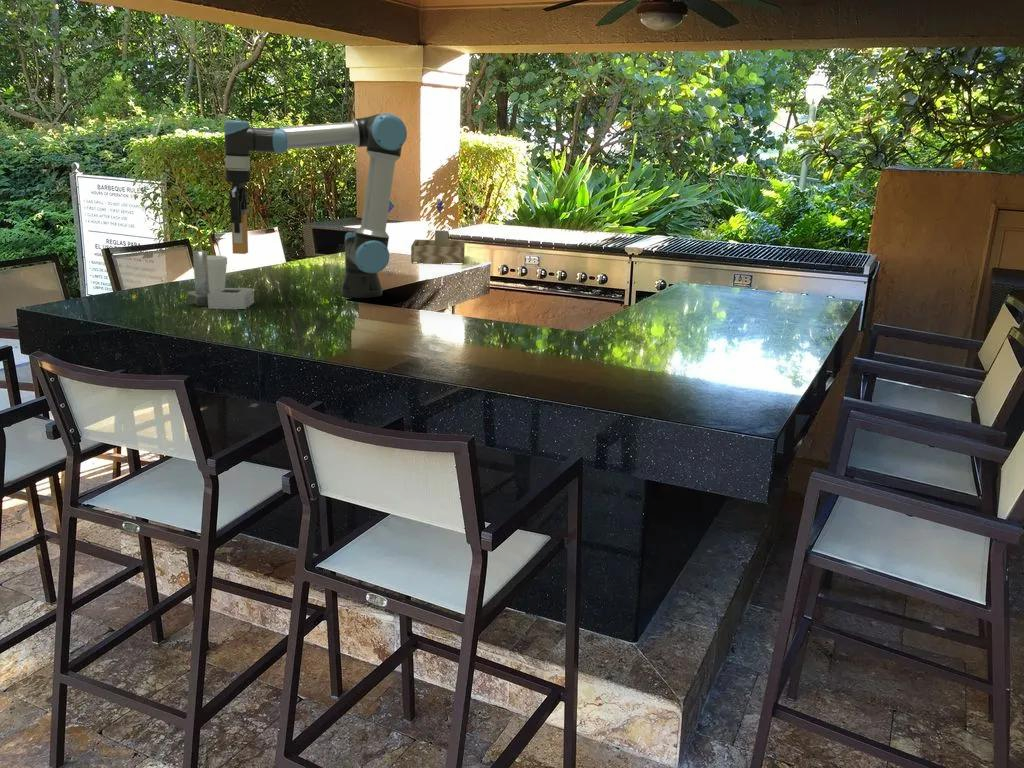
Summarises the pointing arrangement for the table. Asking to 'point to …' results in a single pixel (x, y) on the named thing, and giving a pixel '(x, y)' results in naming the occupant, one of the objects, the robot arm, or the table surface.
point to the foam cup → (216, 271)
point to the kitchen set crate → (437, 252)
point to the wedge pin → (242, 247)
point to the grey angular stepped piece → (219, 296)
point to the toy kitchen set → (440, 239)
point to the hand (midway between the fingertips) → (240, 241)
